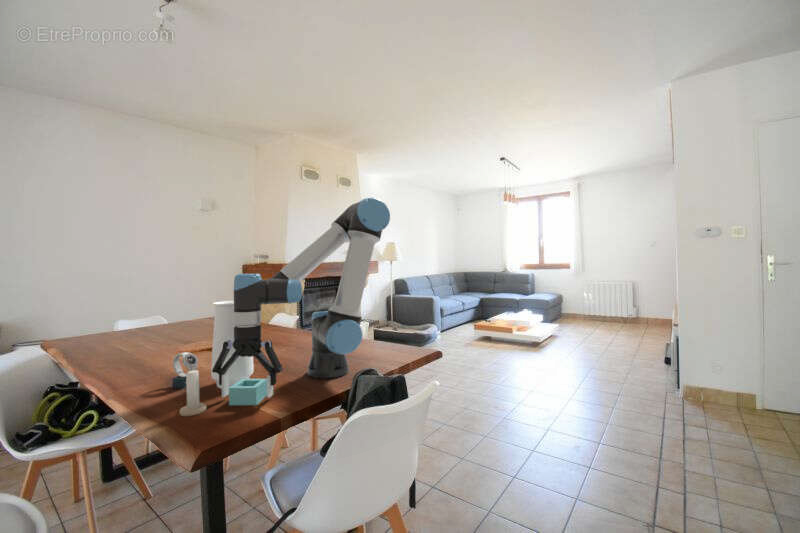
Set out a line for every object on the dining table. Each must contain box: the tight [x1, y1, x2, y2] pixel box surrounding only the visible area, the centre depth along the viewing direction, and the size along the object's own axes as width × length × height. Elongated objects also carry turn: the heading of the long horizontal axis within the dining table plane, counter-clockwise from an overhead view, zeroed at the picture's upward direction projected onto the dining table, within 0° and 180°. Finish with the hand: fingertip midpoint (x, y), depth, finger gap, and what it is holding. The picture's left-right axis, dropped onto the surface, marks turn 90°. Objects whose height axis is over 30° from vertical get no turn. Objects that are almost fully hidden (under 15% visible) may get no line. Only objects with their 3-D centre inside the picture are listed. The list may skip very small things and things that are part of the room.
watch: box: [172, 351, 199, 389], centre depth 118 cm, size 6×8×11 cm
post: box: [179, 369, 207, 417], centre depth 97 cm, size 6×6×11 cm
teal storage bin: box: [228, 378, 267, 406], centre depth 104 cm, size 8×8×5 cm
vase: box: [210, 300, 255, 390], centre depth 118 cm, size 13×13×28 cm
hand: (247, 395), depth 104 cm, fingers open, 13 cm apart
